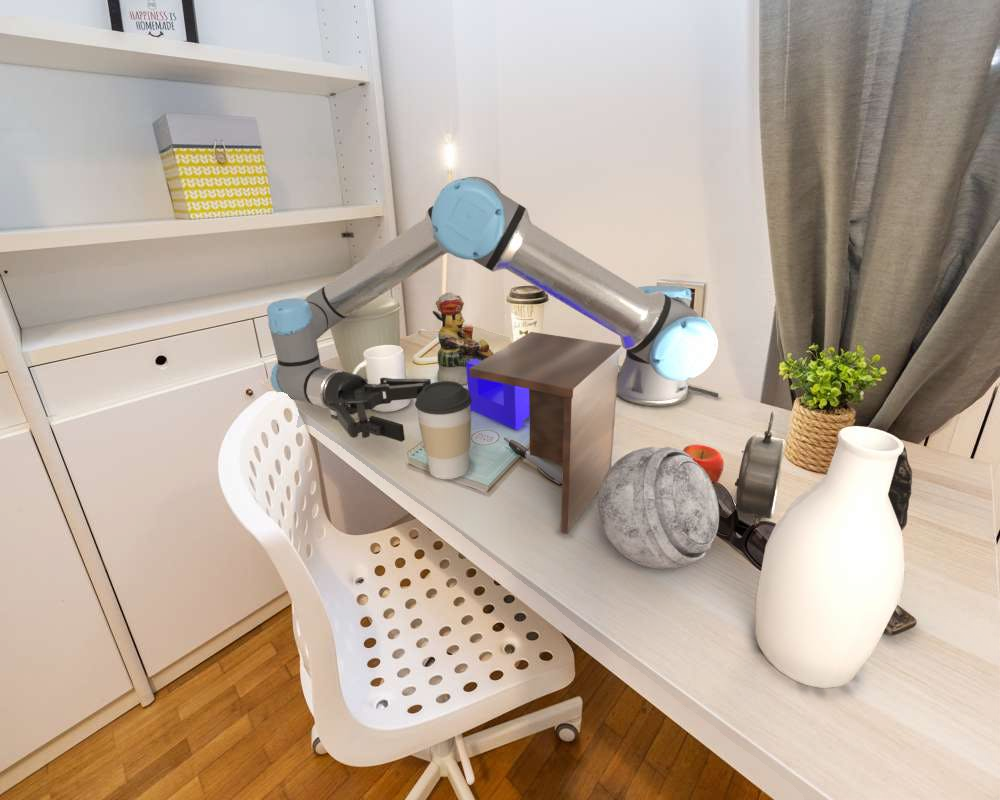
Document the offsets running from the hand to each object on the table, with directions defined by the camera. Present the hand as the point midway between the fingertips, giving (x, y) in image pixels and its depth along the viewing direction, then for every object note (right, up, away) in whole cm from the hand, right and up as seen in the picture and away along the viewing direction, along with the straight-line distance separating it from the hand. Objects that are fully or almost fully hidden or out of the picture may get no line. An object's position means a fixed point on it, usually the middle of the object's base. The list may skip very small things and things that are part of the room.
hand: (429, 415), depth 85 cm
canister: (-20, +9, +43) cm, 48 cm away
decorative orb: (+31, -18, -17) cm, 40 cm away
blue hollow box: (+17, +2, +25) cm, 30 cm away
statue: (+53, -21, -27) cm, 64 cm away
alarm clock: (+48, -14, -11) cm, 51 cm away
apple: (+42, -12, -6) cm, 44 cm away
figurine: (+3, +8, +39) cm, 40 cm away
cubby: (+19, -11, -4) cm, 23 cm away
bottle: (+43, -24, -31) cm, 58 cm away
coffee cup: (+3, -9, +2) cm, 10 cm away
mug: (-14, +1, +26) cm, 29 cm away
